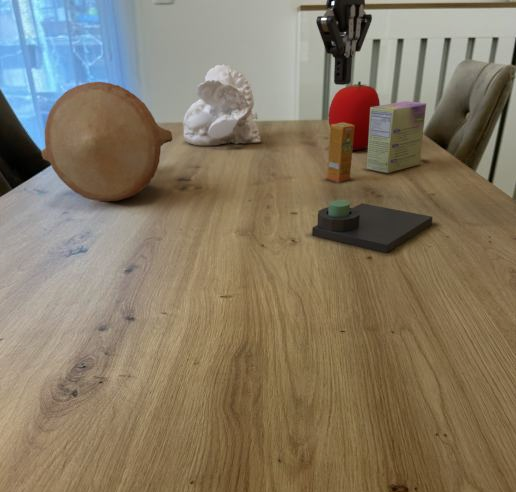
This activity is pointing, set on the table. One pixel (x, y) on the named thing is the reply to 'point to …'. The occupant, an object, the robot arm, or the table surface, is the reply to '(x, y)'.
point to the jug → (103, 141)
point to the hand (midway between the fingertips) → (342, 83)
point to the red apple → (354, 111)
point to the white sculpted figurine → (222, 110)
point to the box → (395, 136)
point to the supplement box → (340, 151)
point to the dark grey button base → (371, 226)
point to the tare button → (339, 208)
